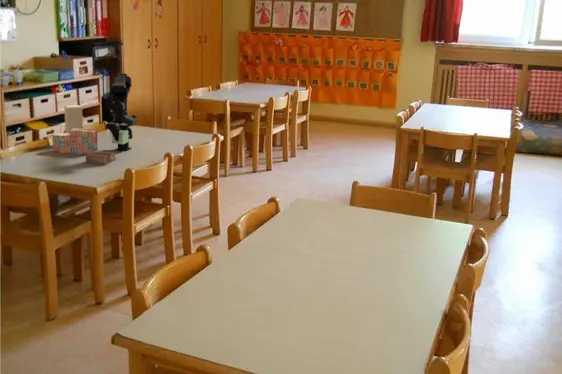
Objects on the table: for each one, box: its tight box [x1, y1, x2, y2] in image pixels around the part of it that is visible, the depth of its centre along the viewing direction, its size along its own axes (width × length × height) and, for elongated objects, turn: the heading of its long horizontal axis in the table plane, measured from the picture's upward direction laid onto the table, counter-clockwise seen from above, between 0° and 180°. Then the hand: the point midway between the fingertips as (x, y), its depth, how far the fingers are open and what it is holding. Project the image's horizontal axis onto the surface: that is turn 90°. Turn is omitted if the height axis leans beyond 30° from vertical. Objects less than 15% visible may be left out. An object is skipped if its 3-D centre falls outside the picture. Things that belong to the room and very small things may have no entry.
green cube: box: [111, 130, 130, 145], centre depth 308 cm, size 6×6×6 cm
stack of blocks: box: [52, 128, 99, 155], centre depth 314 cm, size 21×6×12 cm, turn 89°
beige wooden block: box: [63, 104, 84, 134], centre depth 328 cm, size 8×7×21 cm
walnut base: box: [85, 150, 116, 166], centre depth 300 cm, size 10×10×4 cm
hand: (120, 140), depth 309 cm, fingers closed on green cube, 6 cm apart
